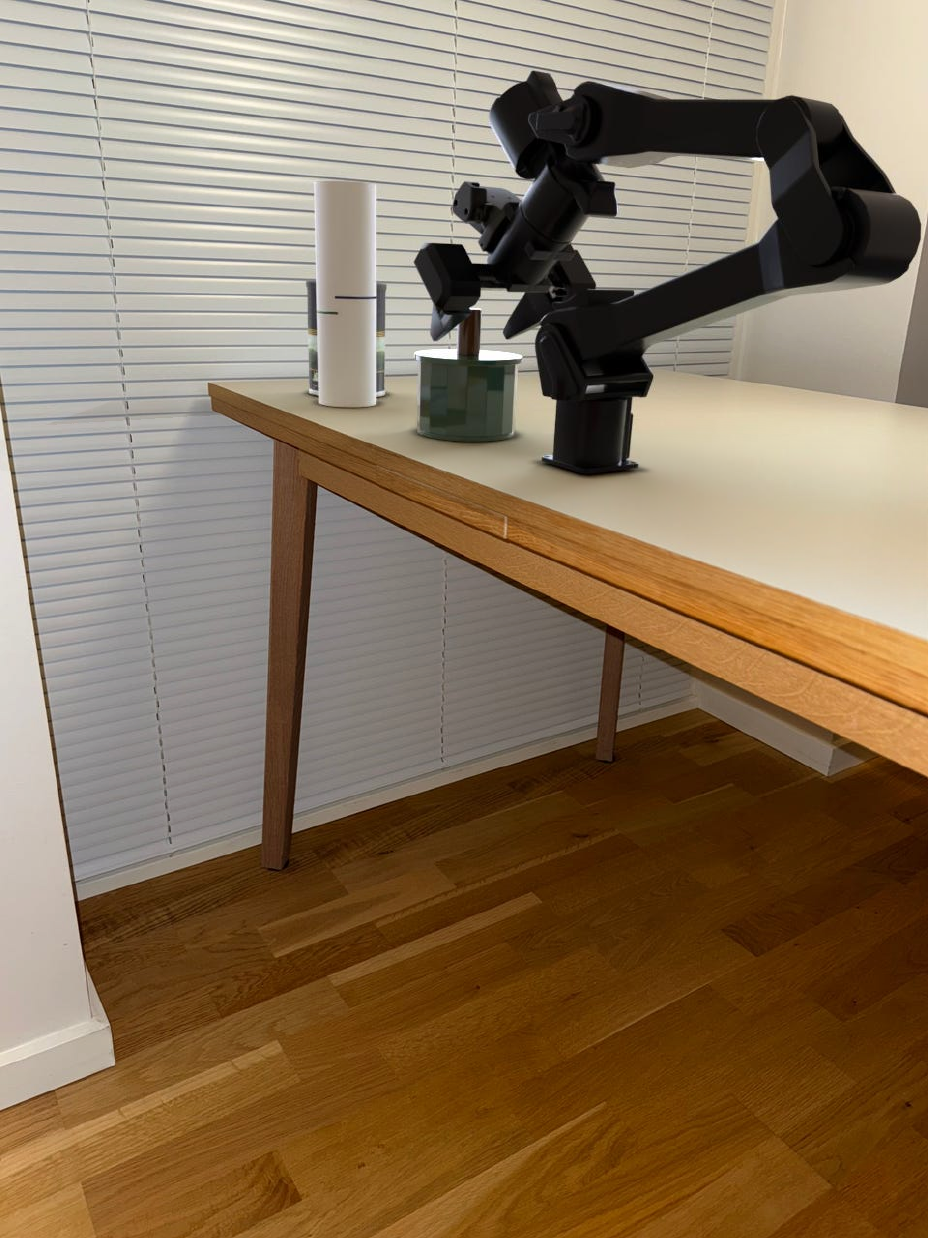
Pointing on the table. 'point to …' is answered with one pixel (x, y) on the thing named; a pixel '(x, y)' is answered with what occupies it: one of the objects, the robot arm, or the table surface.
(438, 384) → the pot
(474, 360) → the lid
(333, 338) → the cylindrical container
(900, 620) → the table surface
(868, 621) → the table surface
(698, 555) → the table surface
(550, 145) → the robot arm
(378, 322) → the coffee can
